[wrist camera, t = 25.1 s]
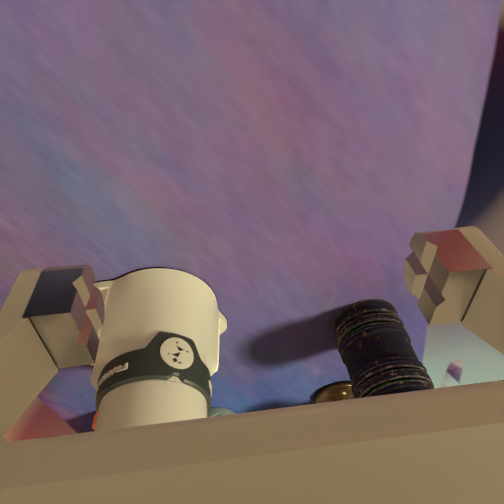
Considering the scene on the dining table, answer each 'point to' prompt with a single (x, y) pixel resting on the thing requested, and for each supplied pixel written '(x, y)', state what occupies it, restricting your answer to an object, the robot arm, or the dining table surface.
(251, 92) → the dining table surface
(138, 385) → the robot arm
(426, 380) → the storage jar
